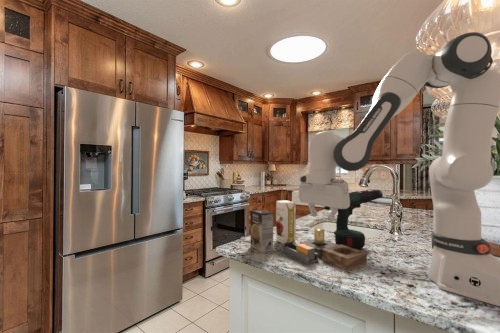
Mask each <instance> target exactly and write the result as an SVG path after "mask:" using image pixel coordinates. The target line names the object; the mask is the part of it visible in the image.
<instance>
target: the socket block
mask: <svg viewBox="0 0 500 333" xmlns="http://www.w3.org/2000/svg"><path fill="white" fill-rule="evenodd" d="M299 244H305V245H308V246H310V247H313V248H315V253H318V259H319V258H320V259H322V249H325V248H329V247H333V246H337V245H338V244H335V243H334V242H331V241H328V240H325V239H324V246H317V245H314V239H310V240H304V241H300V242H299Z"/></svg>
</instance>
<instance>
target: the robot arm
mask: <svg viewBox="0 0 500 333" xmlns="http://www.w3.org/2000/svg"><path fill="white" fill-rule="evenodd" d="M492 50H493V49H492V45H491V41H490V40H489V38H488V37H487V36H486V35H485V34H483V33H481V32H476V31H472V32H466V33H462V34H460V35H457V36H456V37H454V38H452V39H451V40H449V41H448V42H447V43H446V44H445V45H443V46H442V47H441V48H439V49H438V50H437V51H436V52H435V53H433V54H427V53H426V52H423V51H417V50H415V51H410V52H409V51H408V52H407V53H405V54H404V55H403V56H401V57H400V58H399V59H398V61H396V63H395V64H394V65H392V66H391V68H390V69H389V70H388V72H387V73H386V74H385V76H384V77H383V78H382V80H381V81H380V83H379V85H378V86H377V87H376V90H375V92H374V94H373V95H372V103H371V107H370V108H369V111H368V112H367V113H366V115H365V116H364V117H363V119H362V121H361V122H360V123H359V125H358V126H357V127H356V128H355V130H354V131H353V132H352V133H351V134H349V135H348V136H345V137H342V136H340V135H338V134H336V133H335V132H334V131H331V130H326V131H321V132H317V133H315V134H313V135H312V136H311V138H310V139H309V140H310V141H309V151H308V152H309V153H308V154H309V155H308V156H309V157H308V158H309V163H310V164H309V170H308V173H306V174H304V175H302V176H299V177H298V181H299V183H300V184H299V186H298V199H299V201H300V202H301V203H306V204H308V209H309V211H310V216H311V217H317V216H318V211H317V210H316V208H315V207H316V205H317V206H322V207H324V206H327V207H330V210H329V211H331V212H329V214H327V220H328V221H331V222H332V221H334V222H335V219H336V214H338V209H347V208H348V207H349V206H350V198H349V193H350V192H349V184H348V183H347V181H345V180H344V179H336V178H337V174H336V173H337V171H336V169H337V167H339V168H341V169H342V170H344V171H347V172H355V171H359V170H361V169H363V168H365V167H366V165H367V164H368V163H369V161H370V158H371V155H372V149H373V146H374V143H375V141H376V140H377V139H378V137H379V136H380V135H381V134H382V132H383V130H384V129H385V127H386V126H387V125H388V123H390V121H391V120H392V119H393V118H394V117H395V116H397V115H398V114H400V113H401V112H402V111H403V110H404V109H405V108H406V107H408V105H410V103H411V102H412V101H413V100H414V99H415V97H416V96H417V95H418V93H420V90H421V89H422V88H423V86H425V87H427V88H431V89H442V88H446V87H449V86H450V88H451V96H452V97H451V100H450V103H449V107H448V112H447V115H446V120H445V123H444V127H443V131H442V134H443V143H442V152H441V156H438V157H437V158H435V159H434V160H433V161H432V162H431V164H430V165H429V169H428V175H429V184H430V185H429V186H430V191H431V192H430V193H431V194H430V195H431V200H432V206H433V208H432V209H433V231H432V233H431V249H432V256H431V261H430V266H429V269H428V271H427V274H426V276H427V277H428V278H429V280H430V281H432V282H433V283H435V284H436V286H437V287H438V288H439V289H440V290H443V291H447V292H450V293H453V294H457V295H459V296H462V297H463V296H464V297H466V298H470V299H474V300H476V301H479V302H484V303H487V304H491V305H494V306H497V307H500V259H498V258H497V257H495V256H494V255H493V254H491V252H492V246H493V244H492V241H491V242H487V240H485V239H484V238H482V210H481V208H480V207H479V204H478V200H477V196H476V192H475V191H476V190H480V189H482V188H484V187H486V186H487V185H488V184H489V183H491V181H492V179H493V177H494V168H493V166H492V164H491V162H492V161H491V160H492V136H493V132H494V128H495V124H496V120H497V116H498V112H499V109H500V73H499V72H498V71H496V70H493V69H490V68H491V67H492V64H493V57H492Z"/></svg>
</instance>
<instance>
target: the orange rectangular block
mask: <svg viewBox="0 0 500 333" xmlns="http://www.w3.org/2000/svg"><path fill="white" fill-rule="evenodd" d="M296 251H298V252H300V253H303V254H305V255H307V256H308V257H309V261H310V260H313V259H315V248H313V247H310V246H308V245H305V244H300V243H298V244H296Z"/></svg>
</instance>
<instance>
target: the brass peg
mask: <svg viewBox="0 0 500 333" xmlns="http://www.w3.org/2000/svg"><path fill="white" fill-rule="evenodd" d="M313 231H314V232H313V234H314V236H313V238H314V245H317V246H324V240H325V229H324V228H320V227H318V228H316V227H315V228H314V230H313Z"/></svg>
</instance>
